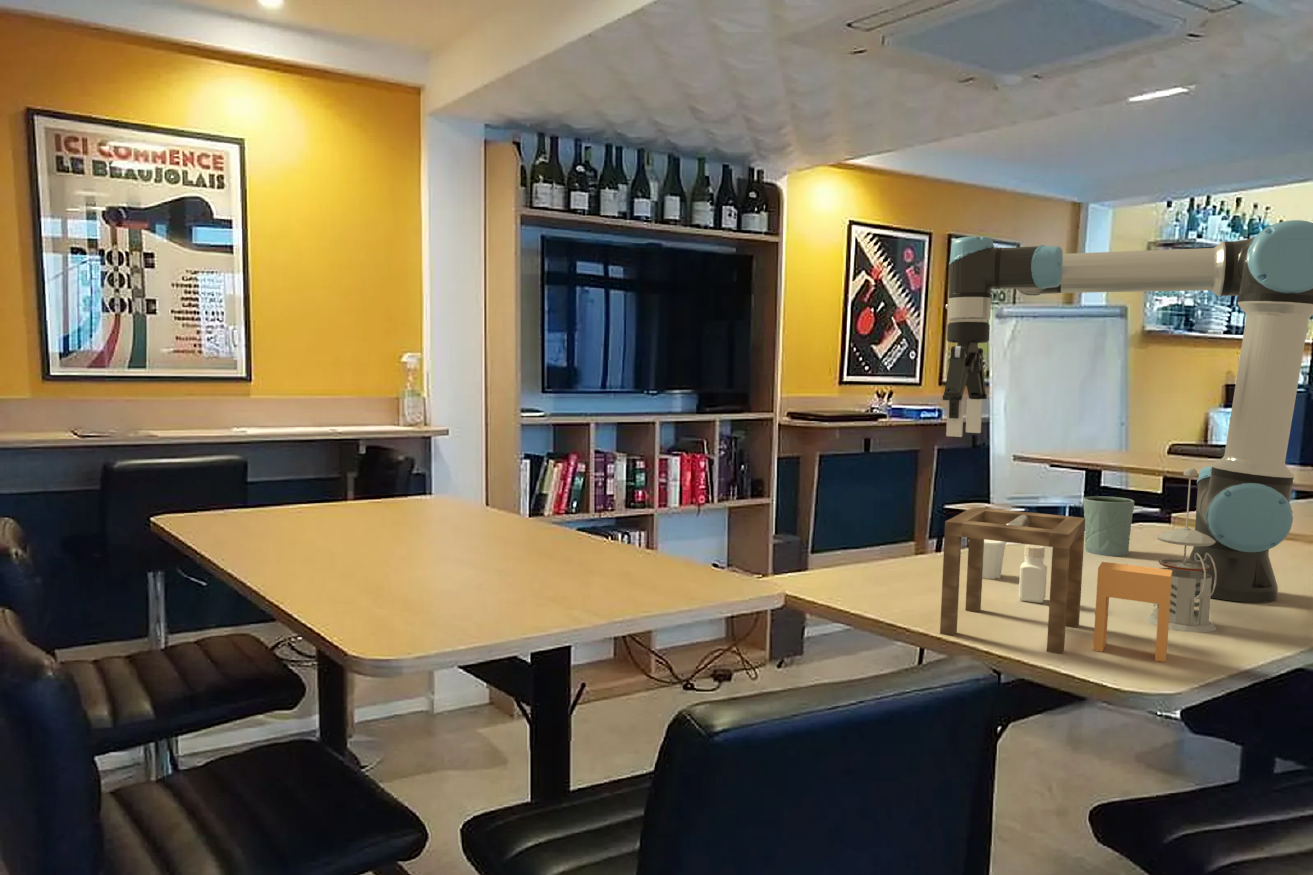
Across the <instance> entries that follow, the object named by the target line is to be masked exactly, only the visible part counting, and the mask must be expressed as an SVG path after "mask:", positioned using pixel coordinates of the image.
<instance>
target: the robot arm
mask: <svg viewBox="0 0 1313 875" xmlns="http://www.w3.org/2000/svg"><path fill="white" fill-rule="evenodd" d="M950 246H951V247H950V256H949V258H950V259H949V262H948V265H949V271H948V272H949V276H948V278H949V279H948V303H947V304H945V309H946V310H948V312H947V313H948V314H947V318H948V320H949V321H951V322H948V324H947V328H946V329H947V330H946V333H947V334H946V341H947V342H948V343H952V344H953V343H954V344H956V345H955V346H951V347H950V359H949V364H948V369H947V376H946V380H945V387H944V392H943V394H942V400H943V401H947V402H946V403H947V404H946V406H947V407H946V428H945V429H946V432H945V435H946V437H956V438H958V437H959V438H962V437H963V432H964V431H963V426H964V400H963V396H964V392H965V389H967V393H968V398H967V399H966V415H965V416H966V417H965V418H966V419H965V433H972V434H981V432H982V412H983V410H982V408H983V400H987V399H988V394H987V393H986V386H985V372H984V359H983V358H984V355H983V354H984V349H983V348H982V347H978V346H979V343H980V344H984V343H985V344H986V343H989V340H990V323H989V322H988V321H989V320H990V319H991V305H992V289H993V290H994V289H995V290H1002V289H1007V290H1008V289H1011V290H1014V289H1016V290H1017V291H1018V292H1019V293H1021V294H1023V295H1026V296H1033V297H1034V296H1040V295H1042V294H1043V295H1045V294H1048V295H1049V294H1077V293H1079V294H1081V293H1082V294H1083V293H1084V294H1086V293H1133V292H1134V293H1136V292H1137V293H1138V292H1139V293H1140V292H1141V293H1142V292H1183V291H1184V292H1186V291H1187V292H1189V291H1190V292H1191V291H1195V292H1196V291H1197V292H1198V291H1211V292H1213V293H1214V294H1215V295H1216V296H1218V297H1227V296H1229V297H1230V296H1231V297H1233V296H1234V297H1235V296H1236V297H1238V298H1237V299H1238V300H1237V306H1238V307H1240V309H1241V310H1242V311H1243V313H1244V314H1245V316H1246V317H1245V324H1244V328H1243V329H1244V330H1243V337H1242V340H1241V342H1242V343H1241V349H1240V355H1239V359H1238V360H1239V361H1238V366H1237V367H1238V368H1237V374H1236V379H1235V386H1234V392H1233V400H1232V406H1231V410H1230V411H1231V412H1230V418H1229V423H1228V431H1227V437H1226V441H1225V442H1226V443H1225V449H1224V455H1223V457H1221V458H1220V459H1219V460H1217V461H1216V462H1214V463H1212V465H1211V466H1204V467H1203V468H1201V469H1200V470H1199V472H1198V478H1197V481H1196V485H1197V496H1196V508H1195V509H1196V510H1195V520H1194V521H1195V524H1194V530H1196V531H1199V532H1201V533H1203V534H1205V535H1208V536H1210V537H1211V538H1212V539H1213V540H1215V543H1214V544H1213V545H1211V546H1192V549H1191V552H1190V554H1189V557H1188V558H1187V561H1188V560H1189V561H1190V560H1191V561H1193V562H1197V561H1195V559H1194V554H1195V553H1198V554H1199V555H1200V556H1201V557H1202V560H1203V559H1204V558H1205V554H1206V553H1209V554H1210V556H1211V557H1212V559H1213V561H1214V563H1215V567H1216V574H1217V577H1216V586H1215V589H1214V592H1213V594H1212V595H1211V596H1210V599H1211V598H1212V599H1218V600H1223V601H1231V602H1243V603H1267V602H1268V603H1270V602H1274V601H1276V600H1278V590H1279V589H1278V587H1279V586H1278V582H1277V580H1276V576H1275V573H1274V570H1273V566H1272V563H1271V560H1270V556H1269V555H1270V554H1269V552H1270V549H1272V548H1275V547H1276V546H1278V545H1279V544H1281V543H1282V542H1283V541H1284V540H1285V539H1286V538H1287V537H1288V535H1289V533H1290V531H1291V529H1292V525H1293V522H1294V516H1293V513H1294V512H1293V510H1292V506H1291V503H1290V502H1291V497H1292V492H1293V491H1292V490H1293V484H1294V480H1295V479H1294V477H1295V475H1294V473H1293V472H1292V471H1291V469H1290V468H1289V467H1288V466H1287V465H1286V460H1287V459H1286V458H1287V451H1288V446H1289V442H1290V441H1289V440H1290V434H1291V428H1292V421H1293V416H1294V411H1295V403H1296V399H1297V398H1296V397H1297V393H1298V392H1297V391H1298V386H1299V380H1300V374H1301V368H1302V361H1303V356H1304V350H1305V343H1306V339H1307V338H1306V337H1307V331H1308V326H1309V320H1310V318H1311V317H1312V316H1313V222H1311V221H1307V220H1301V219H1295V220H1294V219H1291V220H1285V221H1280V222H1277V223H1274V224H1270V225H1269V226H1267V227H1265V228H1263V229H1262V230H1260V232H1258V233H1257V234H1256V235H1255V236H1254V237H1252V238H1248V239H1247V238H1246V239H1241V240H1240V239H1239V240H1234V241H1221V242H1220V243H1219V244H1217V245H1216V246H1215V247H1207V248H1205V247H1204V248H1202V247H1201V248H1180V249H1179V248H1178V249H1175V248H1174V249H1157V250H1156V249H1153V250H1151V249H1150V250H1149V249H1148V250H1130V251H1129V250H1127V251H1125V250H1124V251H1104V252H1103V251H1102V252H1100V251H1099V252H1076V253H1075V252H1074V253H1070V252H1069V253H1064V252H1063V248H1061V246H1058V245H1044V244H1040V245H1037V246H1018V247H1017V246H1016V247H995V245H994V240H993V238H992V237H989V236H976V235H975V236H974V235H973V236H963V237H958V238H956V239H955V240H953V241H952V243H951V245H950ZM965 387H966V388H965ZM1196 559H1197V560H1200V558H1199V556H1198V555H1197V554H1196ZM1203 562H1204V563H1206V564H1207V565H1209V566H1210V569H1209V570H1207V571H1206V573H1208V574H1210V575H1211V576H1212V584H1211V592H1212V590H1213V586H1214V580H1215V572H1214V566H1213V563H1212V561H1211V559H1210V557H1209V556H1208V555H1206V560H1205V561H1203ZM1201 563H1202V562H1201ZM1200 572H1204V571H1200ZM1200 585H1201V583H1196V587H1200ZM1199 594H1200V591H1197V592H1195V595H1199Z"/></svg>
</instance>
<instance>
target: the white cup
mask: <svg viewBox="0 0 1313 875" xmlns="http://www.w3.org/2000/svg"><path fill="white" fill-rule="evenodd" d="M1006 543H1007V542H1003V541H995V540H986V539H984V552H983V572H982V579H983V578H987V579H986V580H996V579H995V578H998V579H1000V578H1001V575H1002V569H1003V562H1004V555H1005V549H1006Z"/></svg>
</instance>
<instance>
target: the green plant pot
mask: <svg viewBox="0 0 1313 875" xmlns="http://www.w3.org/2000/svg"><path fill="white" fill-rule="evenodd" d="M1082 503H1083V512H1084V513H1083V516H1084V517H1083V518H1085V533H1084V545H1085V546H1084V548H1085V551H1086V552H1087V553H1090V554H1092V555H1096V556H1097V555H1098V556H1105V557H1107V556H1108V557H1126V556H1128V555H1129V548H1130V537H1131V531H1132V529H1131V528H1132V523H1133V515H1134V514H1133V513H1134V508H1135V501H1134V500H1133V499H1131V498H1126V497H1119V496H1118V497H1117V496H1104V495H1103V496H1102V495H1101V496H1100V495H1095V496H1092V495H1091V496H1084V497H1083V498H1082Z"/></svg>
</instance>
